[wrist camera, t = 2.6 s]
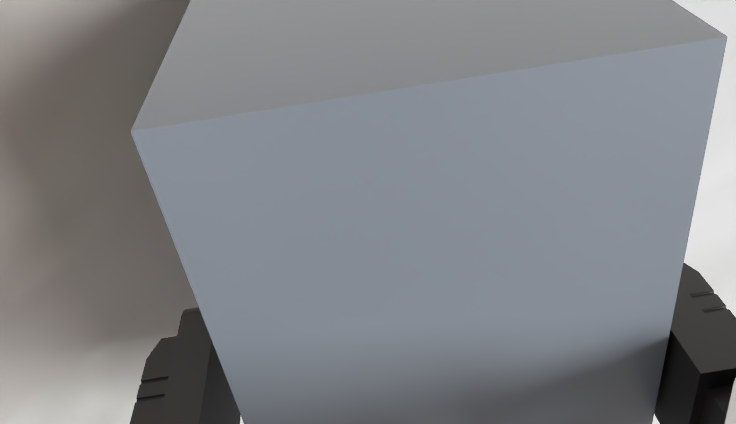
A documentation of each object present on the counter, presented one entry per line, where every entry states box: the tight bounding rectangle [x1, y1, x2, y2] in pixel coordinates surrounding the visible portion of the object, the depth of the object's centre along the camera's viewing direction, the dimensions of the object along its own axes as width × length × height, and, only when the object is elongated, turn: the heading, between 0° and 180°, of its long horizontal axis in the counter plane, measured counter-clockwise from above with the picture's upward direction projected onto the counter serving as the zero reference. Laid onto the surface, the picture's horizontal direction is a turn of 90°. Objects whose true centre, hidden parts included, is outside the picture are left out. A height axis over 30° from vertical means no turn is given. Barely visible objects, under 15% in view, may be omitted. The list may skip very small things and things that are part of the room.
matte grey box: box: [130, 0, 727, 424], centre depth 15 cm, size 7×12×9 cm, turn 8°
